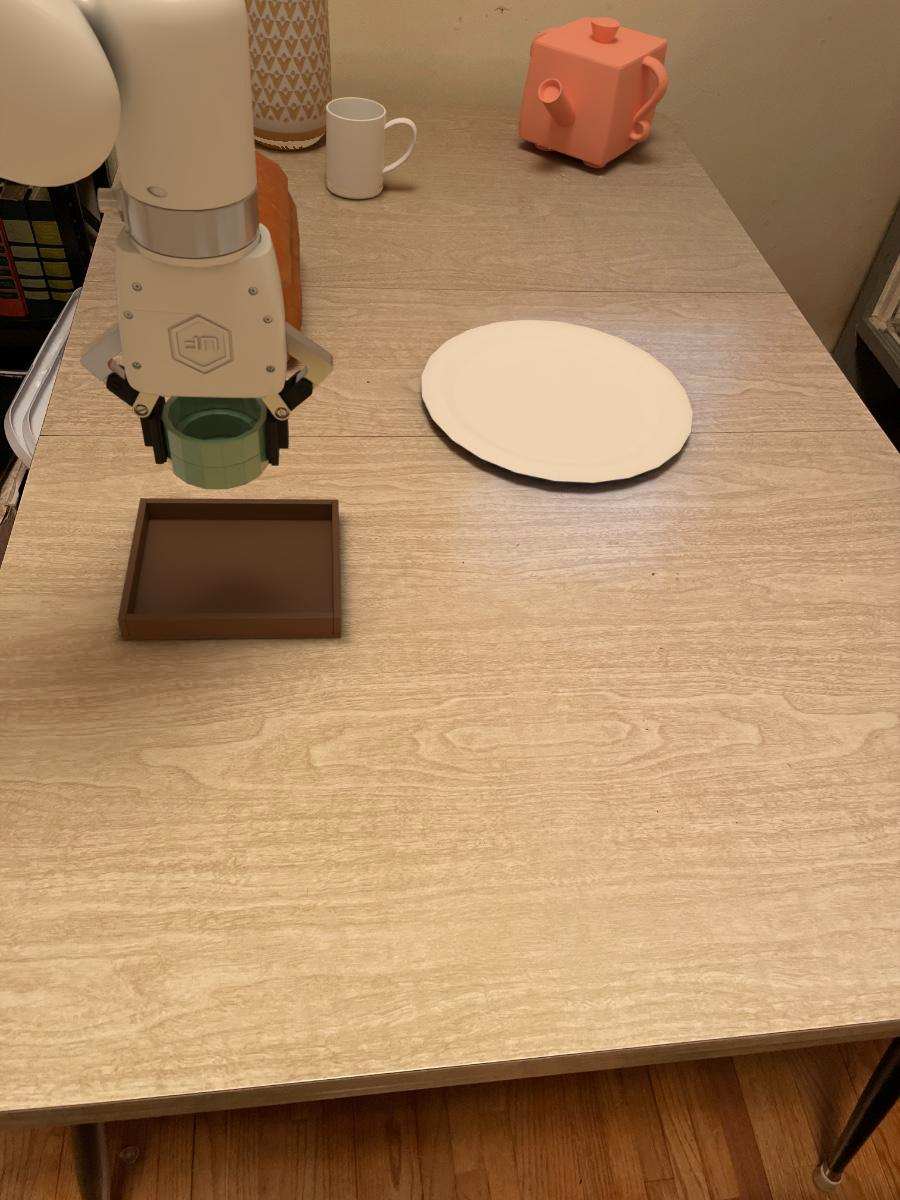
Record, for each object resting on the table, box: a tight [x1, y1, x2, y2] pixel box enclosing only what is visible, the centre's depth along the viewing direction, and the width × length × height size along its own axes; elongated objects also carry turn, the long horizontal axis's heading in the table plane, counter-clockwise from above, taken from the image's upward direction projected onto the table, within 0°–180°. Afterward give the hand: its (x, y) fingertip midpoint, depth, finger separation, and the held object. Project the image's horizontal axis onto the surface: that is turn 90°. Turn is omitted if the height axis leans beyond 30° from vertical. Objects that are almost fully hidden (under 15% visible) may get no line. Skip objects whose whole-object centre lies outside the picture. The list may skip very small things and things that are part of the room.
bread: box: [255, 150, 303, 362], centre depth 105 cm, size 16×27×16 cm, turn 8°
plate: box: [420, 319, 694, 485], centre depth 103 cm, size 29×29×2 cm
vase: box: [244, 0, 333, 151], centre depth 133 cm, size 14×14×31 cm
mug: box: [325, 96, 418, 200], centre depth 131 cm, size 12×8×10 cm, turn 88°
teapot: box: [518, 16, 669, 169], centre depth 143 cm, size 25×23×18 cm
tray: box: [117, 497, 342, 641], centre depth 81 cm, size 17×14×2 cm
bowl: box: [161, 396, 270, 490], centre depth 68 cm, size 7×7×4 cm
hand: (219, 451), depth 69 cm, fingers closed on bowl, 7 cm apart
